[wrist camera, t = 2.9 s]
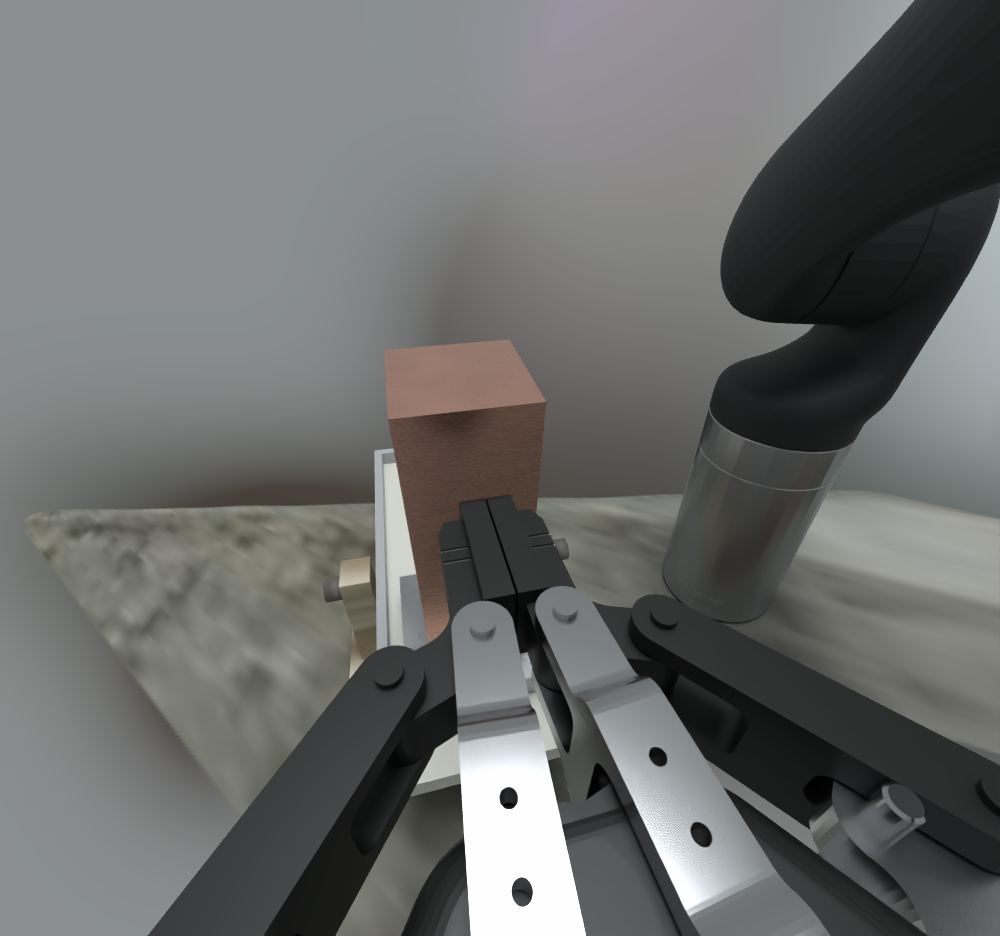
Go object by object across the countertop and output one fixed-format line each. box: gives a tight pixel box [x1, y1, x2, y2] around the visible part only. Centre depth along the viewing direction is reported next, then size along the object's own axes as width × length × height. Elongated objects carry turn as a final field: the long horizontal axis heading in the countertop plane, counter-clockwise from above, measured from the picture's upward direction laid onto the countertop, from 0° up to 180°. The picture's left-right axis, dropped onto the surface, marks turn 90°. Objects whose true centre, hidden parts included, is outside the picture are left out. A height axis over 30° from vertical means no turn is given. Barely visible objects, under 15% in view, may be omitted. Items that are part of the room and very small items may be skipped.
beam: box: [375, 449, 561, 797], centre depth 32 cm, size 26×10×3 cm, turn 13°
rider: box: [384, 340, 546, 694], centre depth 21 cm, size 8×8×18 cm
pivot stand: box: [323, 534, 569, 679], centre depth 34 cm, size 8×18×9 cm, turn 103°
